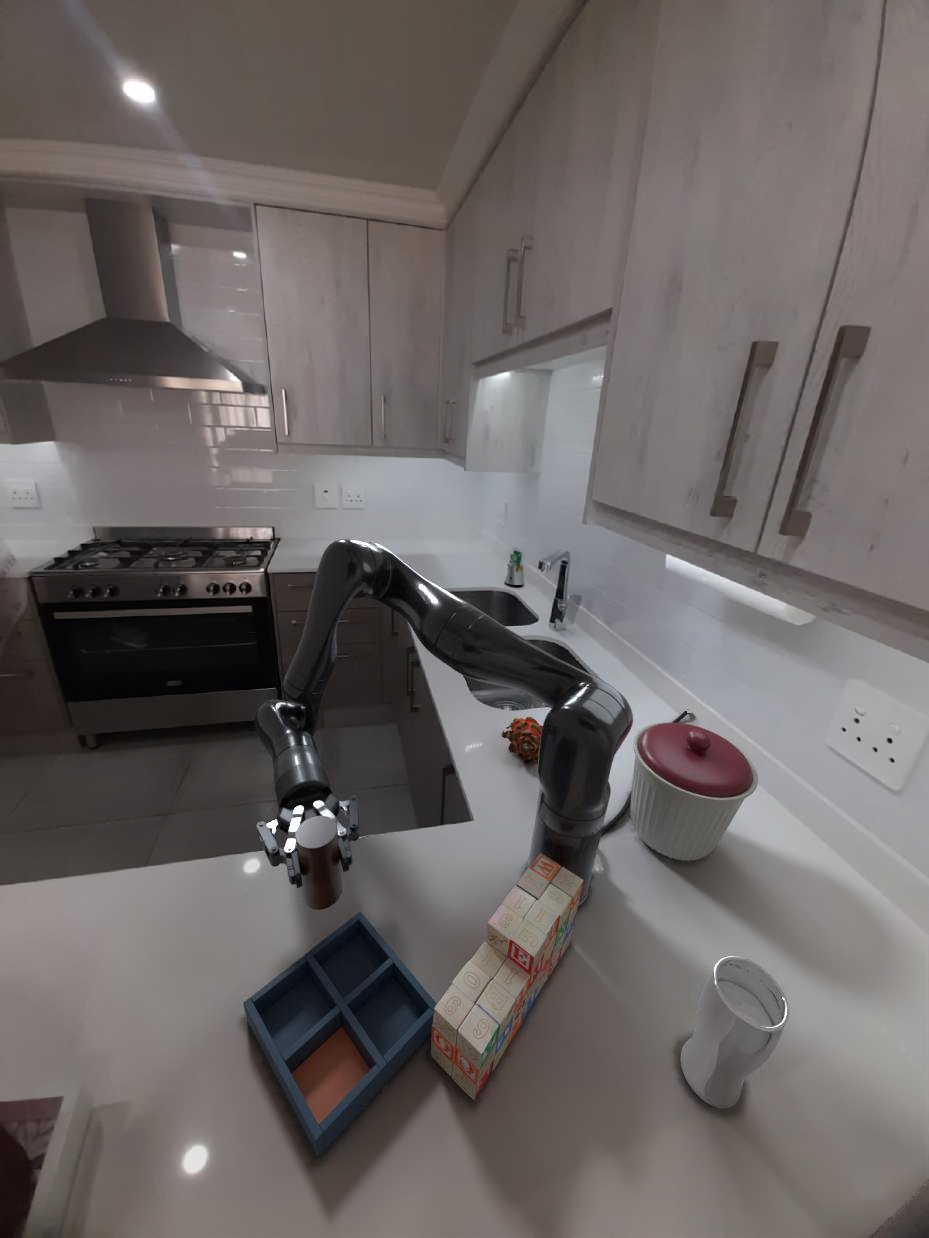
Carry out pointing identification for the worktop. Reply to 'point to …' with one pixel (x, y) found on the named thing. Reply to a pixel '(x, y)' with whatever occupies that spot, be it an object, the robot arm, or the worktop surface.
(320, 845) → the brown cylinder
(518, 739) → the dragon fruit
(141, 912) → the worktop surface
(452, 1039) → the stack of blocks
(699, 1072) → the beer glass
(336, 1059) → the grid
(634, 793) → the canister
